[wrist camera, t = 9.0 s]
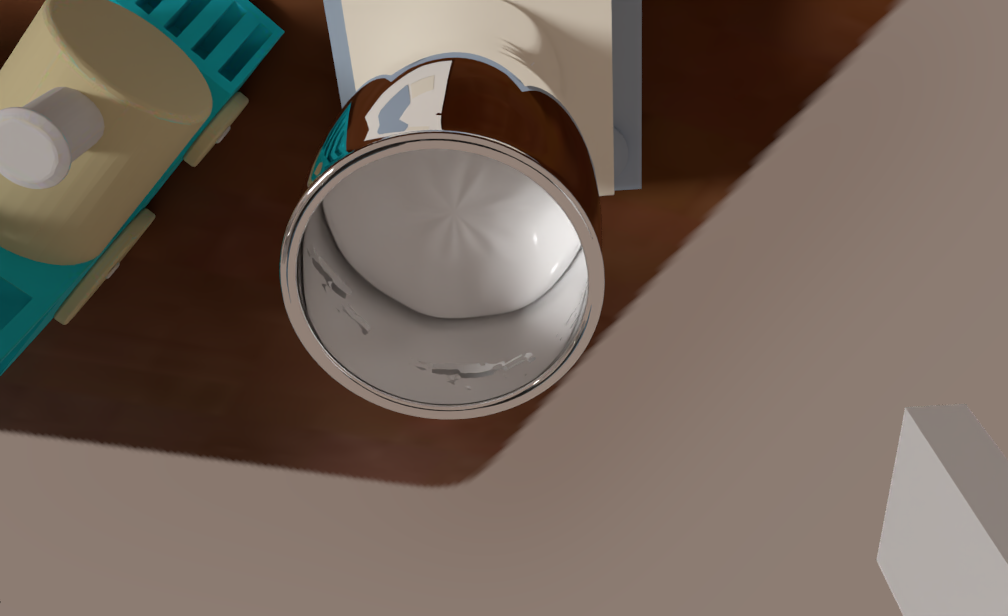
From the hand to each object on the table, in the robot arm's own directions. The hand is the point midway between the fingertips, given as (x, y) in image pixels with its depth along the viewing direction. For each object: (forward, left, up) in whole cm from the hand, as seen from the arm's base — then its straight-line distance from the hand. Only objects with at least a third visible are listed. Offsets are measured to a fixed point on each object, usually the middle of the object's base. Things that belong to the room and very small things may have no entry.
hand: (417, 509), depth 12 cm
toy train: (-17, -2, -30) cm, 34 cm away
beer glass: (0, 0, -22) cm, 22 cm away
